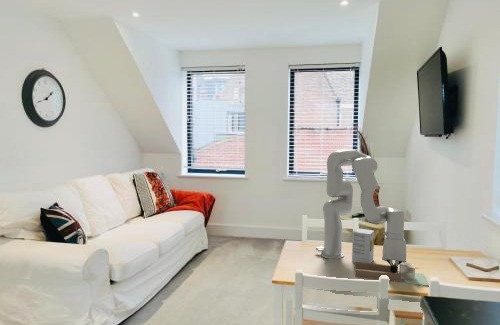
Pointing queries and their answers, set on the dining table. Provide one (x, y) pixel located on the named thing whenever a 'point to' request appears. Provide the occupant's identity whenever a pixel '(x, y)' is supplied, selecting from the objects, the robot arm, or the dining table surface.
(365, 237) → the supplement box
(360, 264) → the channel board
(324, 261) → the dining table surface
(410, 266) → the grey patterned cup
